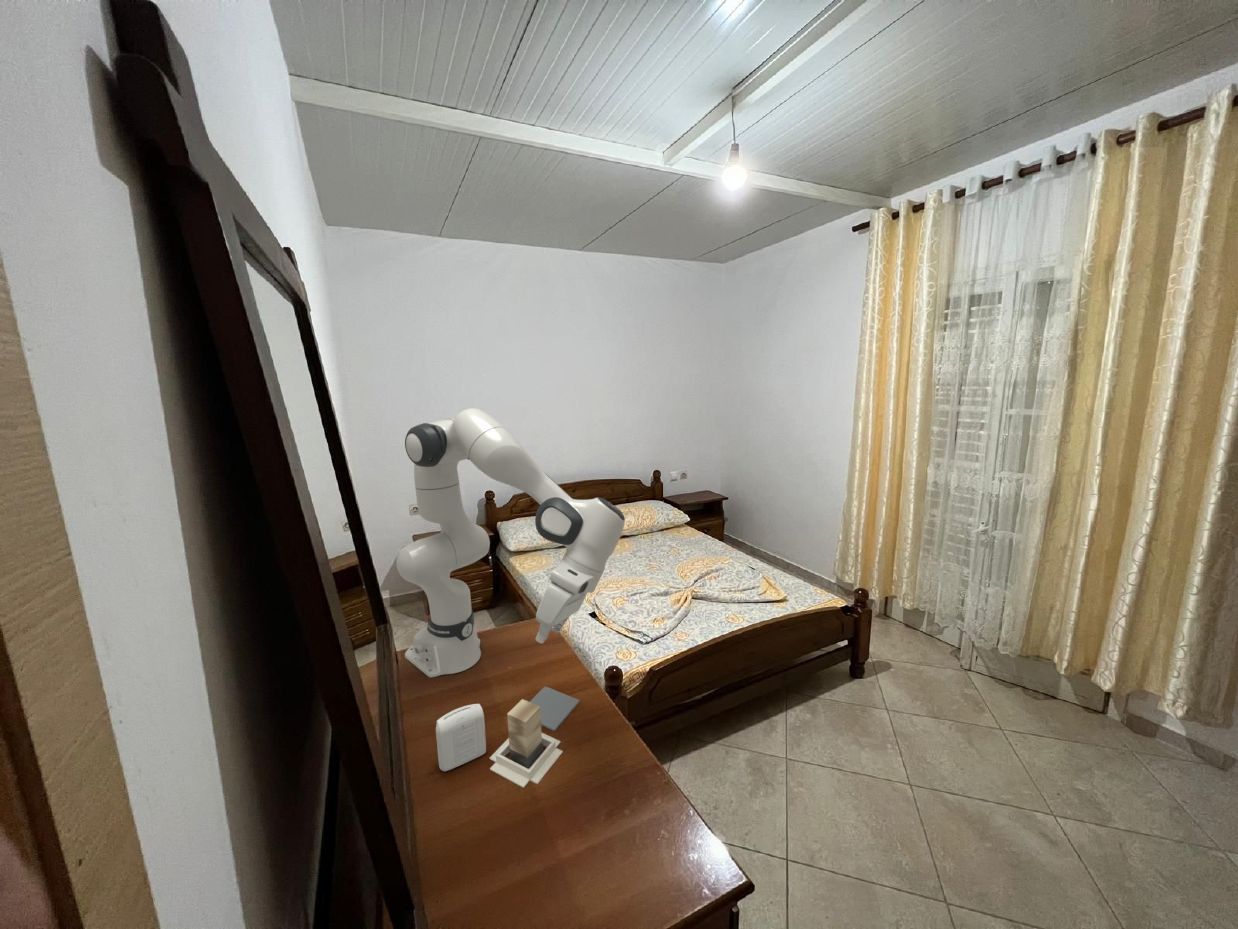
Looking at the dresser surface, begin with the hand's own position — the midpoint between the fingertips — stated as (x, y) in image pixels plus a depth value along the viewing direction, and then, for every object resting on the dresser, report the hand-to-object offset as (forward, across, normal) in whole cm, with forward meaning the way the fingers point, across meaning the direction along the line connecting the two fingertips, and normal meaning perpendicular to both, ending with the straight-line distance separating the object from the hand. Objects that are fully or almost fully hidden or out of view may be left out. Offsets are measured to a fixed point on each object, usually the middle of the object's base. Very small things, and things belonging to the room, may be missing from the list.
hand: (547, 636), depth 97 cm
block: (+29, -11, +5) cm, 32 cm away
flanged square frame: (+29, -11, +5) cm, 32 cm away
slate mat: (+24, -25, +4) cm, 35 cm away
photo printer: (+36, -8, -7) cm, 37 cm away
